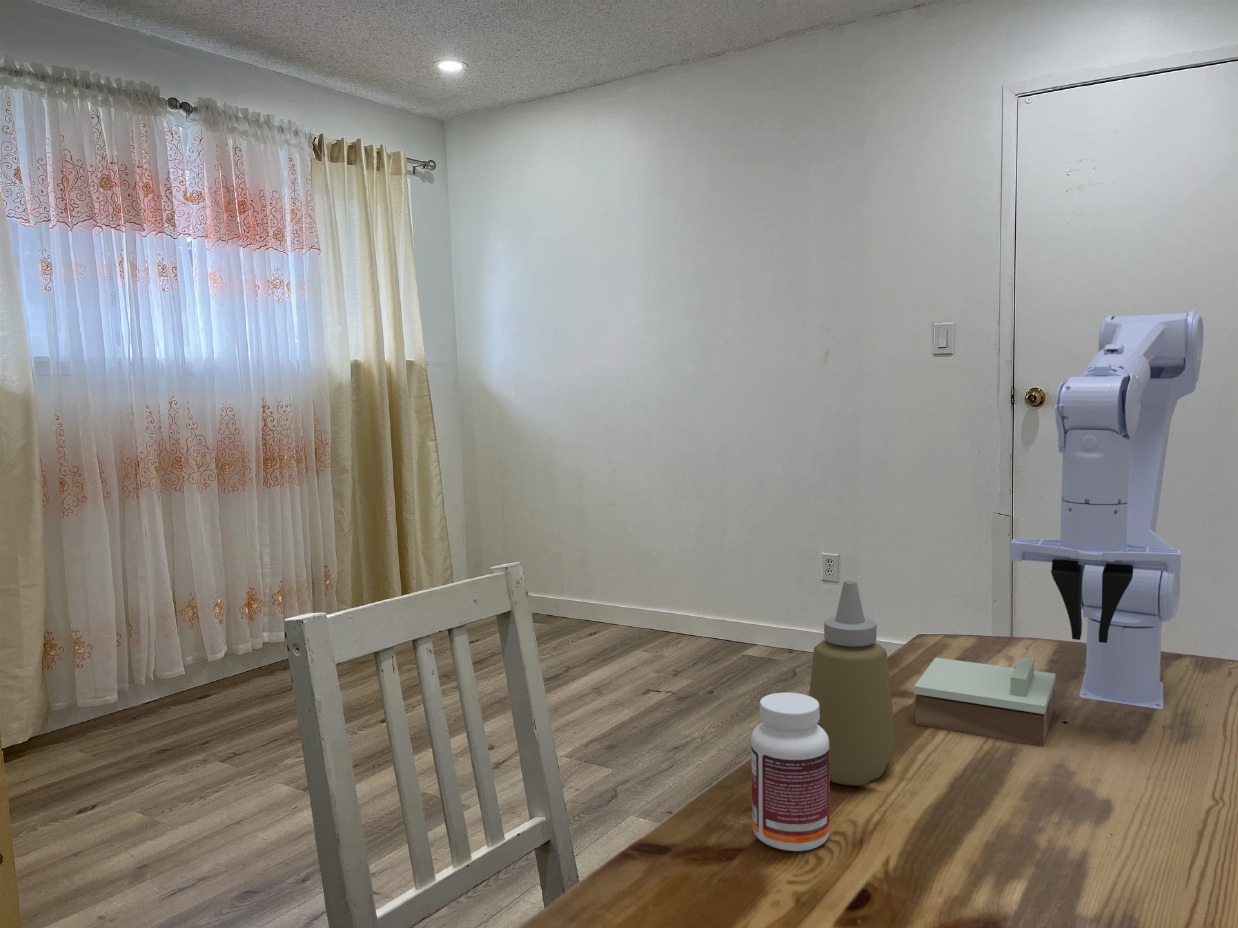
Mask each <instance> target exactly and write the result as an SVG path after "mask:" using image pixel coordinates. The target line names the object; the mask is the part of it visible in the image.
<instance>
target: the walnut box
mask: <svg viewBox="0 0 1238 928" xmlns="http://www.w3.org/2000/svg"><path fill="white" fill-rule="evenodd" d="M1054 700H1055V686H1054V687H1053V690H1052V693H1051V696H1050V699H1049V703H1048V706H1047V709H1046V712H1045V714H1040V713H1034V712H1028V711H1021V710H1015V709H1008V708H1002V707H996V706H989V705H983V704H976V703H970V702H964V701H957V700H951V699H944V698H938V697H932V696H925V695H919V694H915V707H914V708H915V709H914V710H915V711H914V712H915V714H914V715H915V716H914V717H915V718H914V719H915V722H914V723H915V724H914V725H915V726H922V727H924V728H925V727H926V728H931V729H938V730H943V731H948V732H949V731H950V732H955V733H959V734H960V733H961V734H966V735H973V736H978V737H979V736H980V737H984V738H988V739H989V738H990V739H996V740H1002V741H1007V742H1013V743H1018V744H1019V743H1020V744H1025V745H1031V746H1035V747H1044V745H1045V742H1046V738H1047V734H1048V731H1049V729H1050V726H1051V725H1050V724H1051V721H1052V719H1053V716H1054V715H1053V714H1054V702H1055V701H1054Z"/></svg>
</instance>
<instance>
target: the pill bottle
mask: <svg viewBox="0 0 1238 928" xmlns="http://www.w3.org/2000/svg"><path fill="white" fill-rule="evenodd" d="M759 717H760V721H761V723H759V724H758V725H756V727H755V728H754V729H753V731H752V733H751V737H750V740H751V741H750V743H751V744H750V746H751V749H750V750H751V751H750V752H751V753H750V754H751V762H750V763H751V813H752V815H751V818H752V823H751V824H752V830H753V833H754V835H755V836H756V838H758V840H759V841H761V842H762V843H764V845H765V844H766V845H767V846H770V847H771V848H775V849H779V850H782V851H791V852H803V851H804V852H805V851H809V850H810V851H811V850H812V849H815V848H818V847H820V846H821V845H823V844H824V843H826V841H827V840H828V837H829V836H830V832H831V831H830V828H831V822H830V821H831V820H830V819H831V817H830V816H831V815H830V814H831V812H830V809H831V808H830V805H831V804H830V802H831V800H830V799H831V798H830V797H831V796H830V795H831V794H830V792H831V791H830V790H831V789H830V782H831V781H830V780H829V738H828V735H827V733H826V732H825V731H824V729H822V728H821V727H820V726H819V725H817V723H818V722H819V719H820V711H819V703H818V701H817V700H816V699H814V698H812V697H810V696H809V695H807V694H803V693H799V692H798V693H796V692H775V693H770V694H768V695H765V696H763V697H762V698H761V699H760V701H759Z"/></svg>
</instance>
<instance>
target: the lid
mask: <svg viewBox="0 0 1238 928" xmlns="http://www.w3.org/2000/svg"><path fill="white" fill-rule="evenodd" d="M1056 675H1057V674H1056V673H1053V672H1046V671H1037V670H1035V658H1028V657H1019V658H1018V661H1017V663H1016V665H1015V667H1007V666H1002V665H994V664H987V663H980V662H979V663H978V662H972V661H964V660H956V659H951V658H941V657H934V659H933V660H932V662H931V663H930V665H929V666H928V667H927V668H926V669H925V671H924V672H923V674H922V675H921V677H920V678H919V679H918V681H917V682H916V683H915V684H914V686H913V694H914V695H917V694H919V695H925V696H932V697H938V698H944V699H951V700H957V701H964V702H970V703H976V704H983V705H989V706H996V707H1002V708H1008V709H1015V710H1021V711H1028V712H1034V713H1040V714H1045V712H1046V709H1047V706H1048V703H1049V699H1050V696H1051V693H1052V690H1053V687H1054V688H1055V683H1056Z"/></svg>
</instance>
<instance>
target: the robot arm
mask: <svg viewBox="0 0 1238 928" xmlns="http://www.w3.org/2000/svg"><path fill="white" fill-rule="evenodd" d="M1203 321H1204V320H1203V316H1201V315H1200V314H1199V313H1198V312H1197V311H1196V310H1190V311H1189V312H1178V313H1158V314H1139V315H1138V314H1137V315H1136V314H1135V315H1120V316H1119V315H1118V316H1116V315H1114V314H1113V315H1112V314H1111V315H1110V314H1109V315H1107V316H1106V317H1105V319H1103V320H1102V322H1101V324H1100V326H1099V332H1098V340H1097V341H1098V344H1097V345H1098V352H1097V353H1095V354H1094V355H1093V356H1092V358H1091V359H1090V361H1089V362H1088V364H1087V365H1086V366H1085V368H1084V369H1083V371H1082V372H1081V373H1080V375H1079V376H1070V377H1068V380H1067V382H1066V381H1061V382H1060V384H1059V385H1058V388H1057V391H1056V396H1055V406H1054V407H1055V408H1054V411H1055V412H1054V413H1055V424H1056V430H1057V439H1058V440H1057V442H1058V443H1057V447H1058V453H1061V454H1062V462H1061V463H1062V464H1061V467H1062V471H1061V477H1062V478H1061V500H1060V501H1061V504H1060V505H1061V506H1060V534H1059V535H1060V539H1023V538H1021V539H1020V538H1013V539H1012V540H1011V542H1010V555H1009V557H1010V560H1009V561H1012V562H1023V561H1027V562H1028V561H1030V562H1040V563H1041V562H1043V563H1051V569H1050V573H1051V577H1052V579H1053V581H1054V582H1055V585H1056V588H1057V589H1058V591H1059V593H1060V596H1061V598H1062V600H1063V603H1064V607H1065V608H1066V609H1065V610H1066V612H1067V616H1068V619H1069V625H1070V628H1071V629H1070V631H1071V639H1072V640H1078V641H1080V640H1081V637H1082V634H1083V633H1082V631H1083V621H1082V620H1083V619H1082V617H1083V618H1086V619H1087V621H1086V623H1087V624H1086V652H1085V653H1086V655H1085V672H1084V674H1083V678H1082V683H1081V686H1080V691H1079V694H1078V695H1079V697H1080V698H1084V699H1089V700H1097V701H1102V702H1109V703H1117V704H1125V705H1130V706H1131V705H1132V706H1139V707H1144V708H1151V709H1157V710H1159V709H1160V710H1163V709H1164V683H1163V682H1162V681H1160V678H1161V676H1160V675H1161V658H1162V657H1161V652H1162V649H1161V648H1162V627H1163V626H1162V624H1163V622H1170V621H1171V620H1172V619H1173V618H1175V617H1176V615H1177V612H1178V608H1179V603H1180V594H1181V593H1180V592H1181V575H1180V574H1181V561H1182V560H1181V558H1182V554H1181V552H1182V551H1181V550H1180V549H1175V548H1174V547H1173V546H1172V545H1171V544H1170V543H1168V542H1167V541H1166V540H1165V539H1163V538H1162V537H1160V536H1159V535H1158V534H1157V533H1156V532H1157V531H1156V530H1157V523H1158V522H1157V521H1158V518H1159V517H1158V515H1159V507H1160V501H1161V494H1162V493H1161V492H1162V486H1163V479H1164V473H1165V472H1164V471H1165V463H1166V458H1167V457H1166V456H1167V450H1168V441H1169V435H1170V427H1171V421H1172V418H1173V415H1174V413H1175V410H1176V407H1177V404H1178V402H1179V400H1180V399H1182V398H1184V397H1186V396H1187V395H1190V394H1192V393H1194V392H1195V391H1196V385H1197V383H1198V381H1199V378H1200V370H1201V362H1202V357H1203V356H1202V355H1203V348H1204V322H1203ZM1082 610H1083V611H1082Z"/></svg>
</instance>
